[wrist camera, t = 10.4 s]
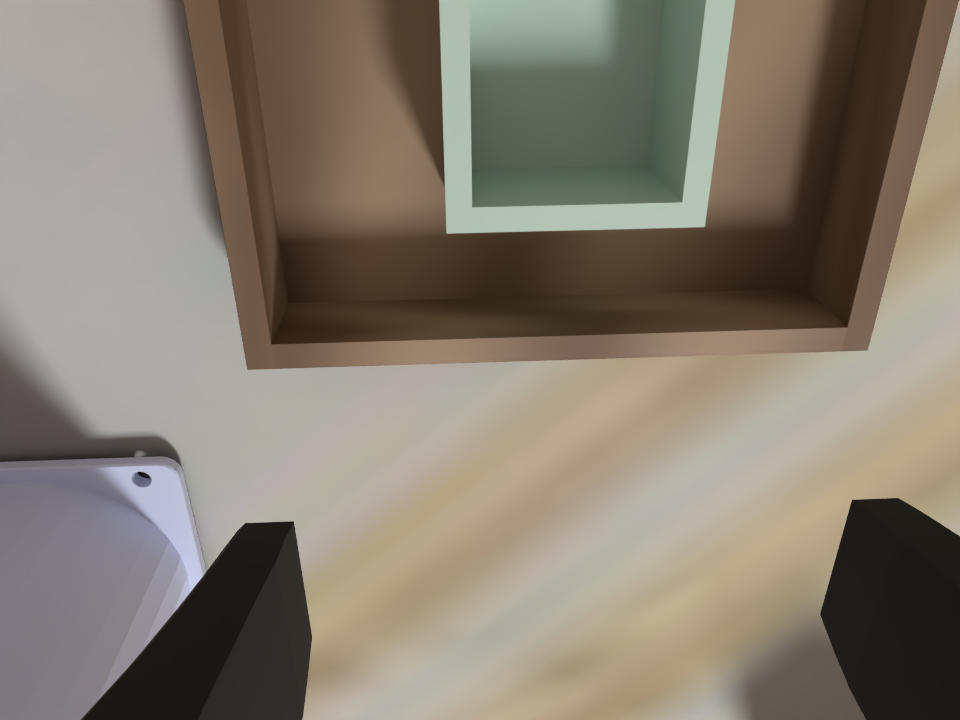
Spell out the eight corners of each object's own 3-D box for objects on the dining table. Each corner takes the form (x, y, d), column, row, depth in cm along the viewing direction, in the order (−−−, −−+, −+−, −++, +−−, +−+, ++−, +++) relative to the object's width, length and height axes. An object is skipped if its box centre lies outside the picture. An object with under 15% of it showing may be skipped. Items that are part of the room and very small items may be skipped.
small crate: (444, 186, 18) (446, 233, 15) (433, -187, 14) (431, -220, 11) (661, 182, 18) (704, 226, 15) (700, -189, 14) (765, -222, 12)
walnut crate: (271, 316, 19) (247, 369, 17) (156, -446, 13) (89, -539, 10) (814, 300, 20) (867, 350, 18) (974, -439, 13) (1095, -525, 11)
